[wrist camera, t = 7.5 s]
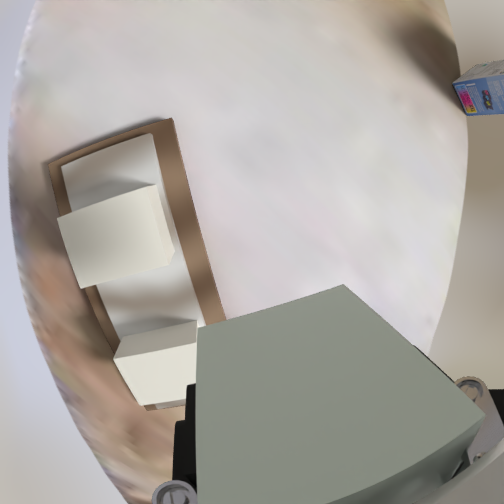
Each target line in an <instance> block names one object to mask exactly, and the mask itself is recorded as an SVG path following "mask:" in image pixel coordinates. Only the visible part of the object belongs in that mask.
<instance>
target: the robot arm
mask: <svg viewBox="0 0 504 504" xmlns="http://www.w3.org/2000/svg"><path fill="white" fill-rule="evenodd" d="M413 346H414V345H413ZM414 347H415V348H417V347H416V346H414ZM417 349H418V348H417ZM418 350H419V349H418ZM419 351H420V350H419ZM420 352H421V351H420ZM421 353H422V354H423V355H424V356H425V357H426V358H427V359H429V358H428V357H427V356H426V355H425V354H424V353H423V352H421ZM429 360H430V359H429ZM430 361H431V360H430ZM431 362H432V361H431ZM432 363H433V362H432ZM433 364H434V363H433ZM434 365H435V366H436V367H437V368H438V369H439V370H440V371H441V372H443V371H442V370H441V369H440V368H439V367H438V366H437V365H436V364H434ZM443 373H444V372H443ZM444 374H445V373H444ZM445 375H446V374H445ZM446 376H447V375H446ZM447 377H448V378H449V379H450V380H451V381H452V382H453V383H454V384H455V385H456V386H457V387H458V388H459V389H460V390H462V391H463V392H464V393H465V394H466V395H467V396H468V397H469V398H470V399H471V400H472V401H473V402H474V403H475V404H476V405H477V406H478V407H479V408H480V409H481V410H482V411H483V412H484V413H485V414H486V416H485V418H484V420H483V422H482V424H481V427H480V429H479V431H478V433H477V435H476V437H475V438H474V440H473V442H472V443H471V444H470V445H468V446H467V447H466V448H465V450H464V452H463V454H462V455H461V461H462V462H461V463H460V465H459V467H458V468H457V470H456V472H455V473H454V475H453V476H452V478H451V479H450V480H449V481H447V482H446V483H445V484H444V485H442V486H441V487H439V488H437V489H436V490H434V491H433V492H431V493H429V494H428V495H426V496H424V497H423V498H421V499H419V500H418V501H416V502H414V503H412V504H504V389H498V390H497V389H492V390H490V389H488V388H487V386H486V385H485V383H484V382H483V381H482V380H480V379H479V378H476V377H470V376H468V377H462V378H460V379H458V380H457V381H456V382H454V381H453V380H452V379H451V378H450V377H449V376H447ZM152 504H198V498H197V474H196V383H194V384H189V385H187V387H186V408H185V420H182V421H177V422H176V424H175V434H174V452H173V476H172V481H168V482H165V483H163V484H161V485H160V486H159V487H158V488H157V489H156V490H155V491H154V493H153V496H152Z"/></svg>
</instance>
